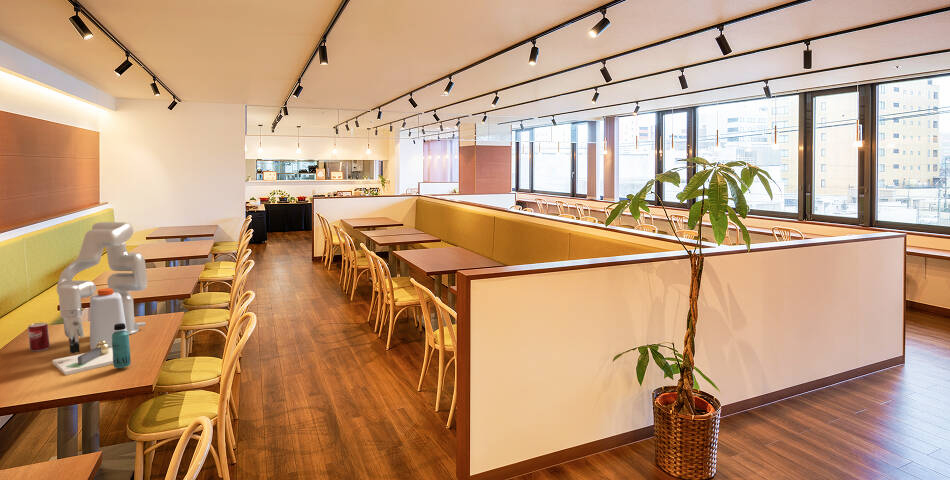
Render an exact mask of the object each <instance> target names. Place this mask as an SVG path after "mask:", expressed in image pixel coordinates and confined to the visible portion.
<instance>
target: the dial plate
mask: <svg viewBox="0 0 950 480" xmlns="http://www.w3.org/2000/svg"><path fill="white" fill-rule="evenodd" d="M85 353H86V352H84V353H80V354H79V353H78V354H75V355H69V356H66V357H60V358H55V359H52V360H51V361H52V362H51V363H52V364H53V365H54V366H55V367H56V368H57V369H58V370H59V371H60V372H62V373H63V375H65V376H68V375H73V374H76V373H82V372H87V371H89V370H90V371H91V370H93V369H98V368H103V367H107V366H111V364H112V365H114V364H113V354H112V353H113V349H112V347H111V348H108V353H106V354H101V355H99V356H97V357H95V358H93V359H91V360H89V361H87V362H85V363H83V364H78V357H79V356H81V355H83V354H85Z"/></svg>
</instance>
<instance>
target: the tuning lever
mask: <svg viewBox="0 0 950 480" xmlns="http://www.w3.org/2000/svg"><path fill="white" fill-rule="evenodd" d="M84 353H85V354H83V353H82V354H83V355H81V356H79V357H78V364H83V363H85V362H87V361H89V360H91V359H93V358H95V357H97V356H99V355H101V354H106V353H108V343H106V341H105V340H101V341H98V344H97V345H96V348H95V349H93V350H91V349H90V350H89V351H86V352H84Z"/></svg>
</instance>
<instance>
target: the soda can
mask: <svg viewBox="0 0 950 480" xmlns="http://www.w3.org/2000/svg"><path fill="white" fill-rule="evenodd" d="M27 332H28V333H27V334H28V342H29V344H28V345H29V350H30V351H31V352H42V351H45V350H46V351H47V350H48V349H49V348H50V347H51V345H50V344H51V343H50V334H49V325H48V323H47V322H36V323H31V324H29V325H28V326H27Z"/></svg>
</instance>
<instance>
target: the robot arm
mask: <svg viewBox="0 0 950 480" xmlns="http://www.w3.org/2000/svg"><path fill="white" fill-rule="evenodd" d="M133 235H134V228H133V226H132V225H131V224H130V222H129V223H128V222H124V221H123V222H121V221H118V222H115V221H114V222H113V221H112V222H111V221H108V222H107V221H103V222H102V221H101V222H96V223H93V225H92V227H91V229H90V230H88V231H87V232H85V235H84V238H83V240H82V243H81V246H80V250H79V253H78V256H77V258H76V259H75V260H73V261H72V262H70V263H69V264H68V265H67V266H66V267H65V268H64V269H63V271H62V272H61V273H60V275H59V279H58V281H57V285H56V293H57V295H58V301H59V304H58V305H59V310H60V311H59V313H60V318H61V319H63V330H64V331H63V332H64V335H65V337H66V338H68V342H69V343H68V344H69V345H68V346H69V352H70V354H71V355H72V354H77V353H78V354H79V353H80V352H81V349H80V338H81V339H82V338H84V337H85V334H84V327H83V321H82V318H81V317H82V316H83V313H82V312H83V311H82V309H83V308H82V301H81V300H82V299H84V298H89V297H91V296H92V295H95V294H96V290H97V286H96V284H95V283H94V281H91V280H73V278H74V277H75V276H76V275H78V274H79V273H81V272H83V271H85V270H87V269H90V268H92V267H95V266H97V265H99V264H100V262H101V258H102V256H103V253H104V248H105V250H106V256H107V264H108V267H109V269H110V270H112V271H114V272H115V273H112V274H111V275H109V276H108V277H107V281H106V282H107V287H108V288H111V289H113V293H119V294H120V295H121V297H122V303H123V310H124V316H125V322H126V329H127V332H128V333H129V335H133V334H136V333H138V332H139V327H144V326H146V322H145V321H143V322H141V321H140V322H139V321H138V322H136V321H135V312H134V311H135V310H134V309H135V307H134V298H133V296H132V294H131V293H130V292H143V291H144V290H146V289H147V286H148V275H147V266H146V259H145V257H144V256H143V254H141V253H139V252H128V250H127V244H126V242H128V240H130V239H131V238H132V236H133Z"/></svg>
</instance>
